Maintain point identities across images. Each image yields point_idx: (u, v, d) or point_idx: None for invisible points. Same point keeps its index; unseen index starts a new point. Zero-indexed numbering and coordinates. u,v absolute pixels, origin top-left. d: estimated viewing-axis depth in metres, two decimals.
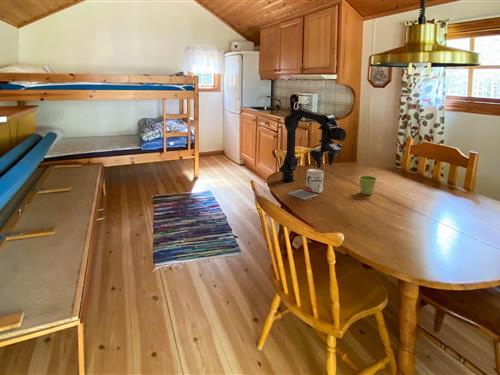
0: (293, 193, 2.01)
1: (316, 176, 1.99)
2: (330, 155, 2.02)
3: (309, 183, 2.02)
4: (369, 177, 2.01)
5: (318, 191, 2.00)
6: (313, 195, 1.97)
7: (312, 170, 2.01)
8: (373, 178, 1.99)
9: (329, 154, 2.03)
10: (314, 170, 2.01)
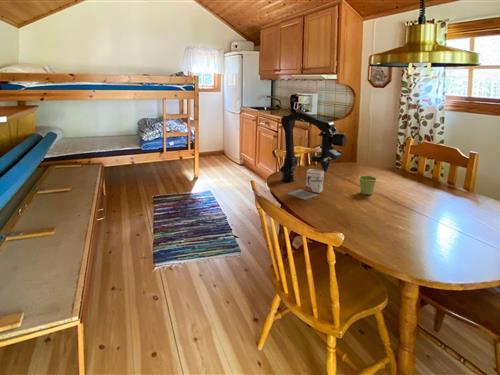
0: (293, 193, 2.01)
1: (316, 176, 1.99)
2: None
3: (309, 183, 2.02)
4: (369, 177, 2.01)
5: (318, 191, 2.00)
6: (313, 195, 1.97)
7: (312, 170, 2.01)
8: (373, 178, 1.99)
9: None
10: (314, 170, 2.01)
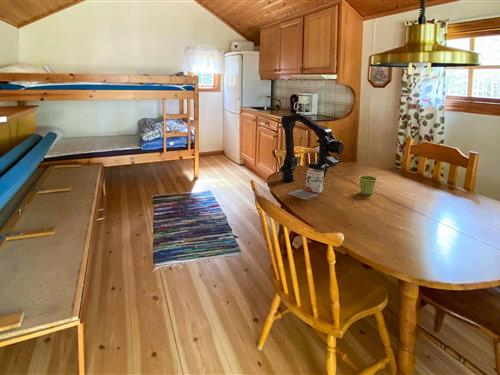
0: (293, 193, 2.01)
1: (316, 176, 1.99)
2: None
3: (309, 183, 2.02)
4: (369, 177, 2.01)
5: (318, 191, 2.00)
6: (313, 195, 1.97)
7: (312, 170, 2.01)
8: (373, 178, 1.99)
9: None
10: (314, 170, 2.01)
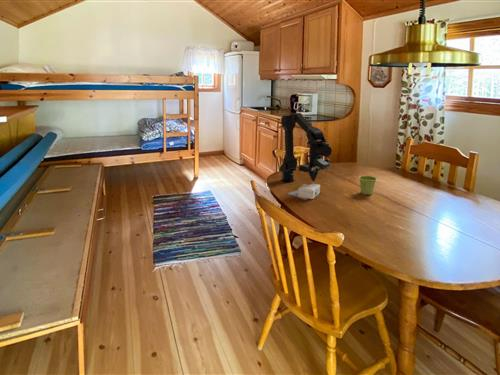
0: (293, 193, 2.01)
1: None
2: None
3: None
4: (369, 177, 2.01)
5: None
6: None
7: (302, 194, 1.93)
8: (373, 178, 1.99)
9: None
10: (304, 193, 1.92)
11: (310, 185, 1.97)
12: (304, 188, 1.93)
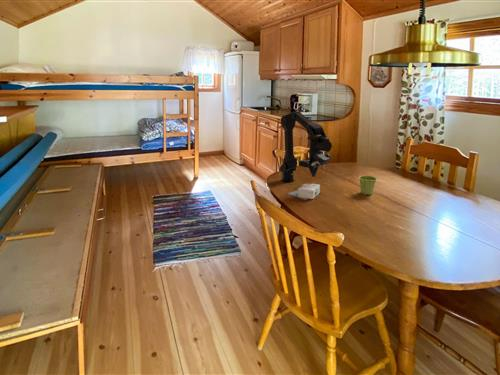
0: (293, 193, 2.01)
1: None
2: None
3: None
4: (369, 177, 2.01)
5: None
6: None
7: (302, 194, 1.93)
8: (373, 178, 1.99)
9: None
10: (304, 193, 1.92)
11: (310, 185, 1.97)
12: (304, 188, 1.93)
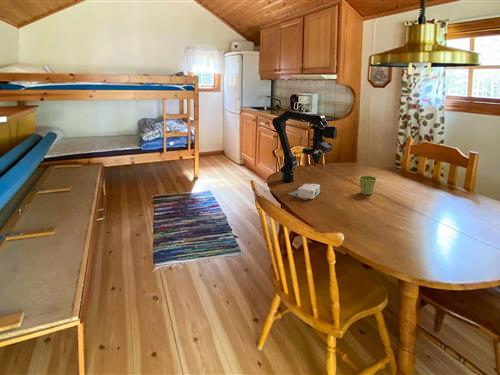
0: (293, 193, 2.01)
1: None
2: None
3: None
4: (369, 177, 2.01)
5: None
6: None
7: (302, 194, 1.93)
8: (373, 178, 1.99)
9: None
10: (304, 193, 1.92)
11: (310, 185, 1.97)
12: (304, 188, 1.93)
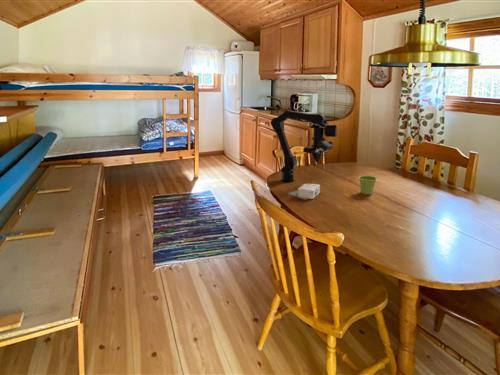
0: (293, 193, 2.01)
1: None
2: None
3: None
4: (369, 177, 2.01)
5: None
6: None
7: (302, 194, 1.93)
8: (373, 178, 1.99)
9: None
10: (304, 193, 1.92)
11: (310, 185, 1.97)
12: (304, 188, 1.93)
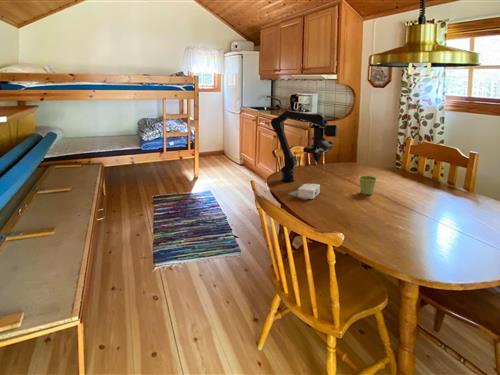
0: (293, 193, 2.01)
1: None
2: None
3: None
4: (369, 177, 2.01)
5: None
6: None
7: (302, 194, 1.93)
8: (373, 178, 1.99)
9: None
10: (304, 193, 1.92)
11: (310, 185, 1.97)
12: (304, 188, 1.93)
